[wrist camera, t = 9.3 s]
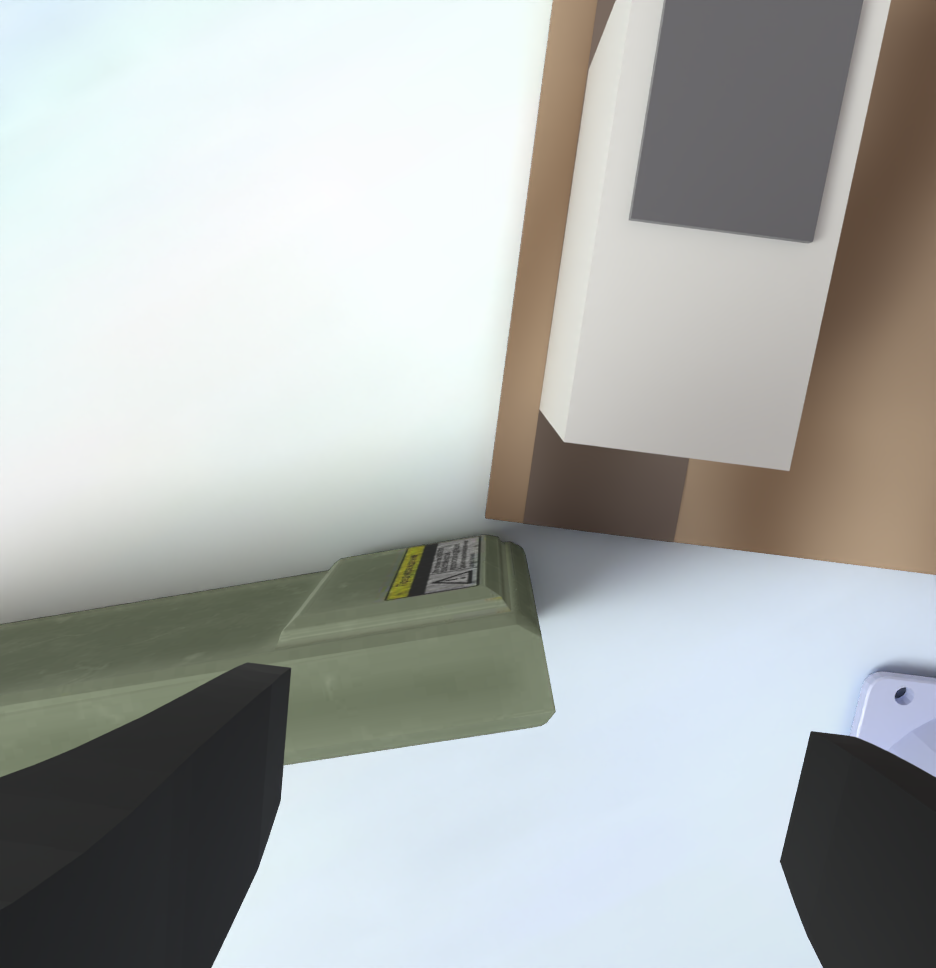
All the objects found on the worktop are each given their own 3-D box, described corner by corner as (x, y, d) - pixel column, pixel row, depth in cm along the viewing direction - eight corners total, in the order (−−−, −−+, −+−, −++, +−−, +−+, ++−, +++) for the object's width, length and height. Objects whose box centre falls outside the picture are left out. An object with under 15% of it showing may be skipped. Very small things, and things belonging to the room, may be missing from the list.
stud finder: (758, 91, 17) (905, -40, 11) (694, 429, 19) (794, 473, 13) (588, 70, 17) (645, -75, 11) (539, 408, 19) (565, 443, 13)
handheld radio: (539, 632, 21) (-280, 761, 22) (520, 520, 21) (-317, 659, 22) (562, 754, 14) (-602, 926, 16) (535, 593, 14) (-665, 785, 15)
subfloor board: (1236, 22, 17) (1264, 11, 17) (1068, 586, 20) (1087, 594, 20) (561, -64, 17) (563, -78, 17) (485, 513, 20) (485, 518, 19)
